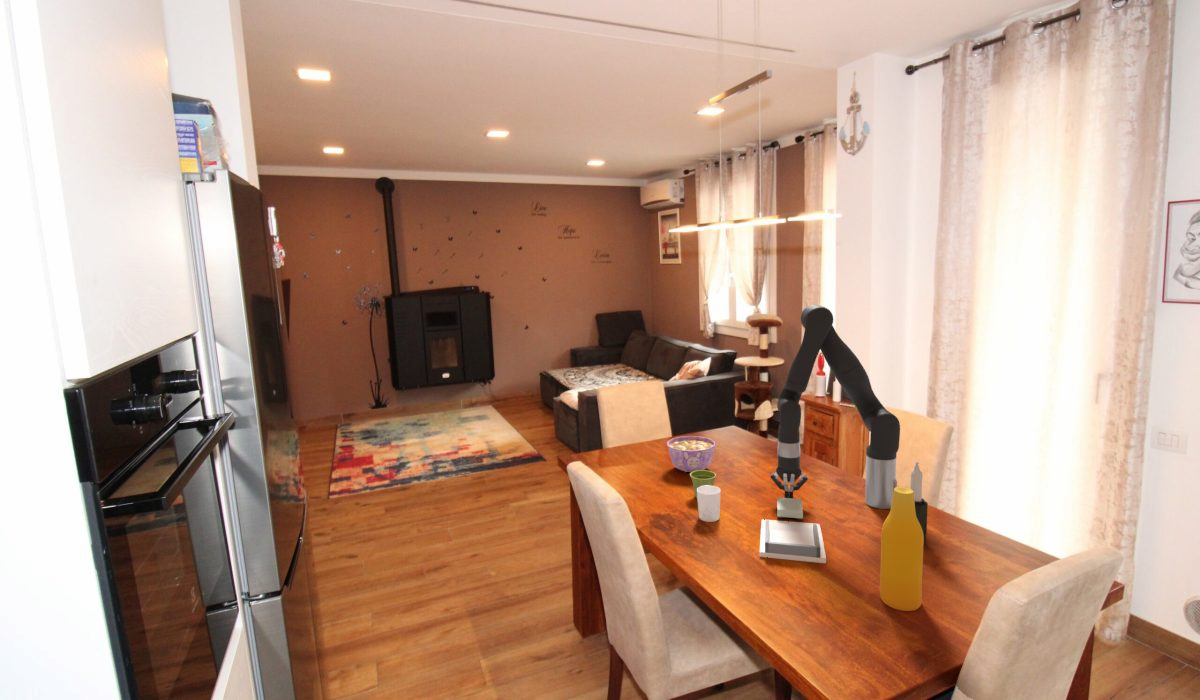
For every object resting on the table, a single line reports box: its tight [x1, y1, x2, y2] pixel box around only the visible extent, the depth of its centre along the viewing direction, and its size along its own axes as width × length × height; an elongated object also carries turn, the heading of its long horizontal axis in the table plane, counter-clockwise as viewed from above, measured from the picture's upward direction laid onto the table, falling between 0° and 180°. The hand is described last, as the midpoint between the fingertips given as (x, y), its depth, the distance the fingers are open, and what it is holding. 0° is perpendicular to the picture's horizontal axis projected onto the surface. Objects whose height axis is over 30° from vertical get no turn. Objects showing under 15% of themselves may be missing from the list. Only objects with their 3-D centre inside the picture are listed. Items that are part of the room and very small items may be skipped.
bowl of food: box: [666, 435, 716, 473], centre depth 236 cm, size 20×20×12 cm
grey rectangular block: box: [776, 496, 804, 521], centre depth 191 cm, size 8×10×4 cm
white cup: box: [696, 485, 722, 523], centre depth 191 cm, size 8×8×10 cm
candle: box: [909, 461, 929, 546], centre depth 167 cm, size 5×5×25 cm
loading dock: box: [759, 518, 827, 564], centre depth 174 cm, size 18×25×6 cm
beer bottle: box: [879, 486, 925, 612], centre depth 139 cm, size 9×9×29 cm
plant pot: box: [689, 469, 717, 499], centre depth 208 cm, size 9×9×9 cm
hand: (788, 500), depth 200 cm, fingers closed
